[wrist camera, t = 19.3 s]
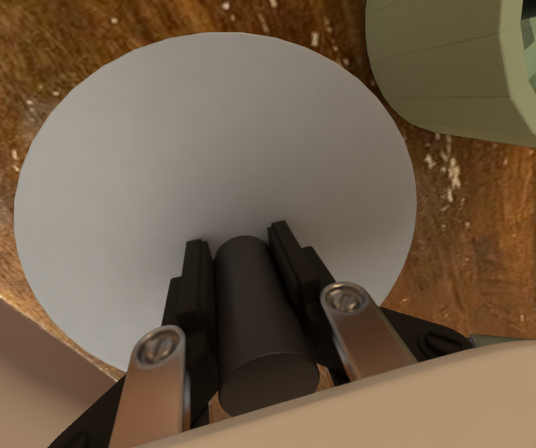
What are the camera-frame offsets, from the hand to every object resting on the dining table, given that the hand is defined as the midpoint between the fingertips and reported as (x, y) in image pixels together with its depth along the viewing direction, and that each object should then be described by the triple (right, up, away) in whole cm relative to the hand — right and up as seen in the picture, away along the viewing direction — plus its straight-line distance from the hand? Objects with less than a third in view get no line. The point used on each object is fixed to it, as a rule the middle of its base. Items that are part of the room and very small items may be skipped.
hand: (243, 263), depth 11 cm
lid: (0, 0, +1) cm, 1 cm away
